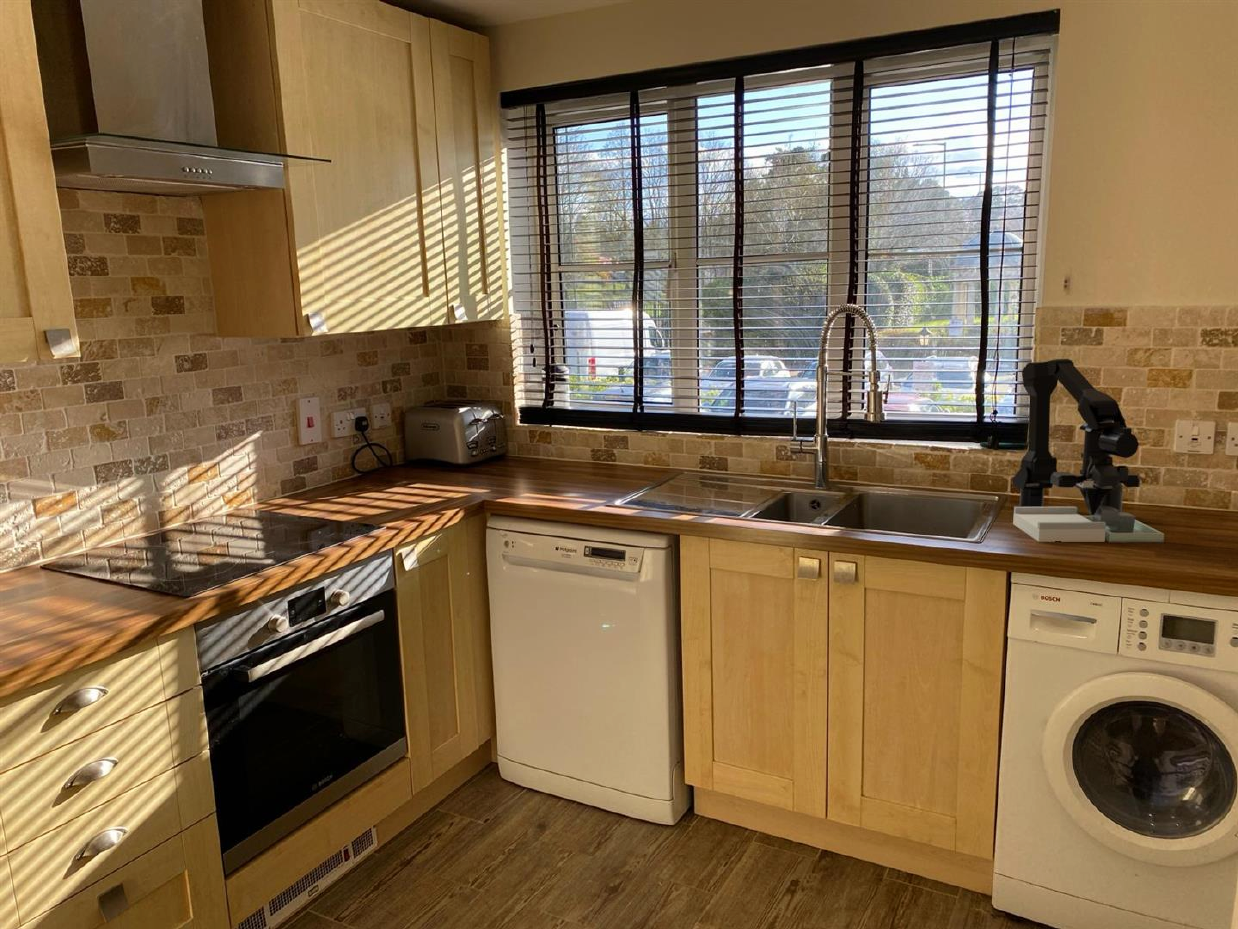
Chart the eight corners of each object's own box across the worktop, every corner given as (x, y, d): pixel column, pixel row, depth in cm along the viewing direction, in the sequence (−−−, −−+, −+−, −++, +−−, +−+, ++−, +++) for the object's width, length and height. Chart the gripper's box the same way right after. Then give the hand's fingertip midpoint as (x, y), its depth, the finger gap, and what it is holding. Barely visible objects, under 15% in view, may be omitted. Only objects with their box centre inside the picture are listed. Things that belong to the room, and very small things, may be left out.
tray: (1077, 523, 231) (1078, 515, 230) (1126, 523, 230) (1127, 515, 229) (1110, 542, 213) (1110, 533, 213) (1163, 542, 212) (1164, 533, 212)
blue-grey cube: (1092, 521, 223) (1094, 505, 222) (1109, 522, 223) (1111, 506, 222) (1099, 525, 219) (1101, 509, 218) (1116, 526, 219) (1118, 510, 218)
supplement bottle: (1104, 512, 241) (1108, 468, 239) (1127, 518, 235) (1130, 472, 233) (1085, 515, 239) (1088, 470, 237) (1107, 521, 232) (1110, 474, 230)
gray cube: (1110, 511, 222) (1127, 512, 222) (1108, 527, 223) (1125, 528, 223) (1118, 515, 218) (1135, 516, 218) (1115, 532, 219) (1133, 532, 219)
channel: (1013, 524, 231) (1014, 506, 231) (1074, 523, 230) (1075, 506, 229) (1038, 541, 215) (1039, 523, 214) (1104, 541, 214) (1106, 523, 213)
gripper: (1070, 456, 211) (1065, 522, 214) (1154, 456, 210) (1148, 522, 212) (1051, 449, 222) (1047, 511, 225) (1131, 448, 221) (1125, 511, 223)
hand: (1092, 514), depth 221 cm, fingers closed
